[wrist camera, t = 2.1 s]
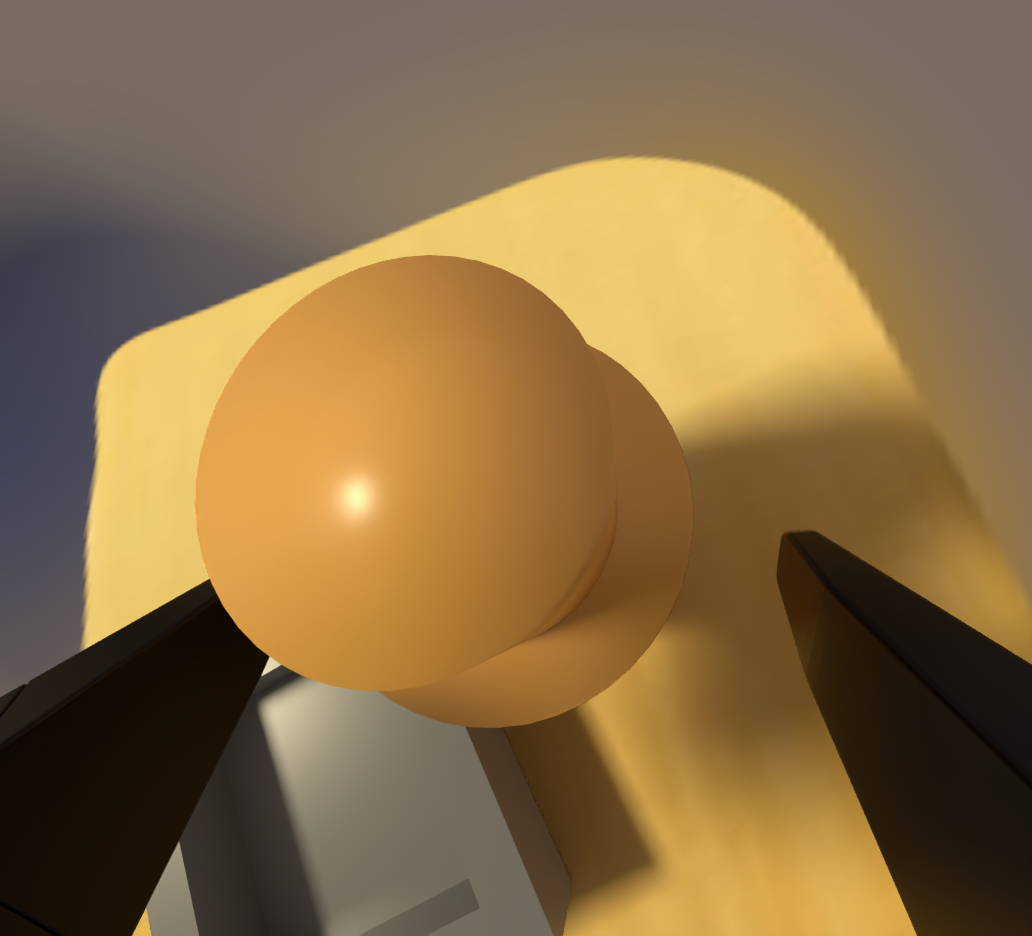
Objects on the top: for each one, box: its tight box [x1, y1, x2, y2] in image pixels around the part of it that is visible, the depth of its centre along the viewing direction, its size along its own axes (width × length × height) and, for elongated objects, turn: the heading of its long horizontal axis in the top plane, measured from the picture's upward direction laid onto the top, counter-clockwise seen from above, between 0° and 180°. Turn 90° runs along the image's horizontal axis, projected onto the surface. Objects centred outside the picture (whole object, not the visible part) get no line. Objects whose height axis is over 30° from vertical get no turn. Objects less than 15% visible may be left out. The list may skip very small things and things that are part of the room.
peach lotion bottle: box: [195, 255, 693, 728], centre depth 10 cm, size 6×6×13 cm
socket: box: [146, 657, 572, 936], centre depth 15 cm, size 11×11×3 cm
